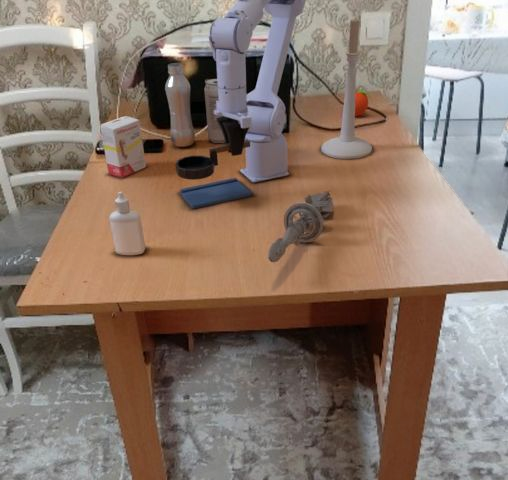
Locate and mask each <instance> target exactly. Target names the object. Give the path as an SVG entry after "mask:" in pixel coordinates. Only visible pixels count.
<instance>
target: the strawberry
mask: <svg viewBox="0 0 508 480" xmlns="http://www.w3.org/2000/svg"><path fill="white" fill-rule="evenodd" d="M368 97H369V98H370V99H371V101H373V100H372V96H371V95H370V94H369V92H366V91H363V90H359V89H355V117H358V116H362V115H363V114H364V113H365V112H366V111H367V109H368V107H369V98H368Z"/></svg>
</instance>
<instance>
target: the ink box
mask: <svg viewBox="0 0 508 480" xmlns="http://www.w3.org/2000/svg"><path fill="white" fill-rule="evenodd" d="M140 123H141V122H140V119H137V118H134V117H132V116H131V117H130V116H128V115H124V116H121V117H117V118H116V119H112V120H109V121H107V122H103V123H101V125H100V132H101V138H102V139H101V140H102V143H103V150H104V155H105V161H106V167H107V172H108V175H111V176H115V177H118V178H122V179H123V178H126V177H128V176H130V175H132V174H134V173H137V172H139V171H140V170H143V169H145V168H146V167H147V163H146V157H145V150H144V143H143V136H142V130H141V124H140Z"/></svg>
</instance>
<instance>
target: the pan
mask: <svg viewBox="0 0 508 480" xmlns="http://www.w3.org/2000/svg"><path fill="white" fill-rule="evenodd" d="M247 147H250V142H249V141H248V140H244V145H243V149H245V148H247ZM208 151H209V156H206V155H187V156H184V157H181V158H178V159H177V160H176V163H175V164H174V165H175V171H176V175H177V176H178V177H179V178H182V179H184V180H190V181H191V180H192V181H193V180H203V179H207V178H209V177H210V176H213V174H214V173H215V167H217V166H219V161H218V154H220V153H224V152H228V151H230V145H229V143H227V144H226V143H221V144H217V145H213V148H210V149H208Z"/></svg>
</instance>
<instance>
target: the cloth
mask: <svg viewBox="0 0 508 480" xmlns="http://www.w3.org/2000/svg"><path fill="white" fill-rule="evenodd" d="M178 192H179V195H180V196H181V197H182V198H183V199H184V200H185V202H186V203H187V204H188V205H189V206H190V207H191V208H192V209H198V208H202V207H207V206H208V207H209V206H212V205H216V204H220V203H225V202H229V201H230V202H231V201H235V200H239V199H244V198H247V197H252V196H253V193H252V192H251V190H249V189H248V188H247V187H246V186H245V185H243V183H241V182H240V181H239V180H238V178H236V177H232V178H228V179H223V180H217V181H214V182H208V183H203V184H199V185H193V186H190V187H185V188H181V189H180V190H179V191H178Z"/></svg>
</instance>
